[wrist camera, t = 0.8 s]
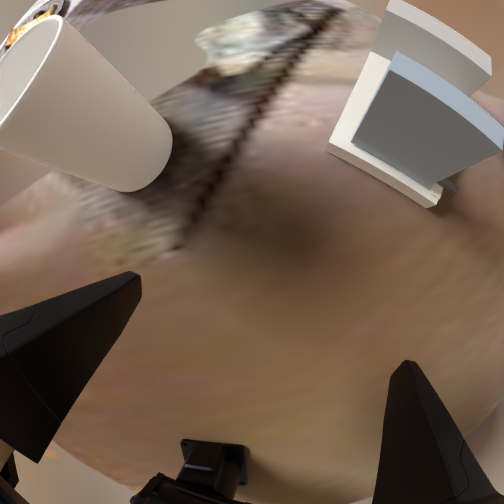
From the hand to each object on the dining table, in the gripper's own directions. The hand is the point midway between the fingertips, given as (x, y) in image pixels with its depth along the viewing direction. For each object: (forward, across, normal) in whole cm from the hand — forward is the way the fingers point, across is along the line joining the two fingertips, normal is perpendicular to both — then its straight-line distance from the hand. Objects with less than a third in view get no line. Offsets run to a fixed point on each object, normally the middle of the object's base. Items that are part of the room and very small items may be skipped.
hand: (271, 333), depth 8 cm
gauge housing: (+21, -7, -9) cm, 23 cm away
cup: (+16, +17, 0) cm, 23 cm away
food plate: (+27, +63, -19) cm, 71 cm away
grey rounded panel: (+16, -7, -5) cm, 18 cm away
